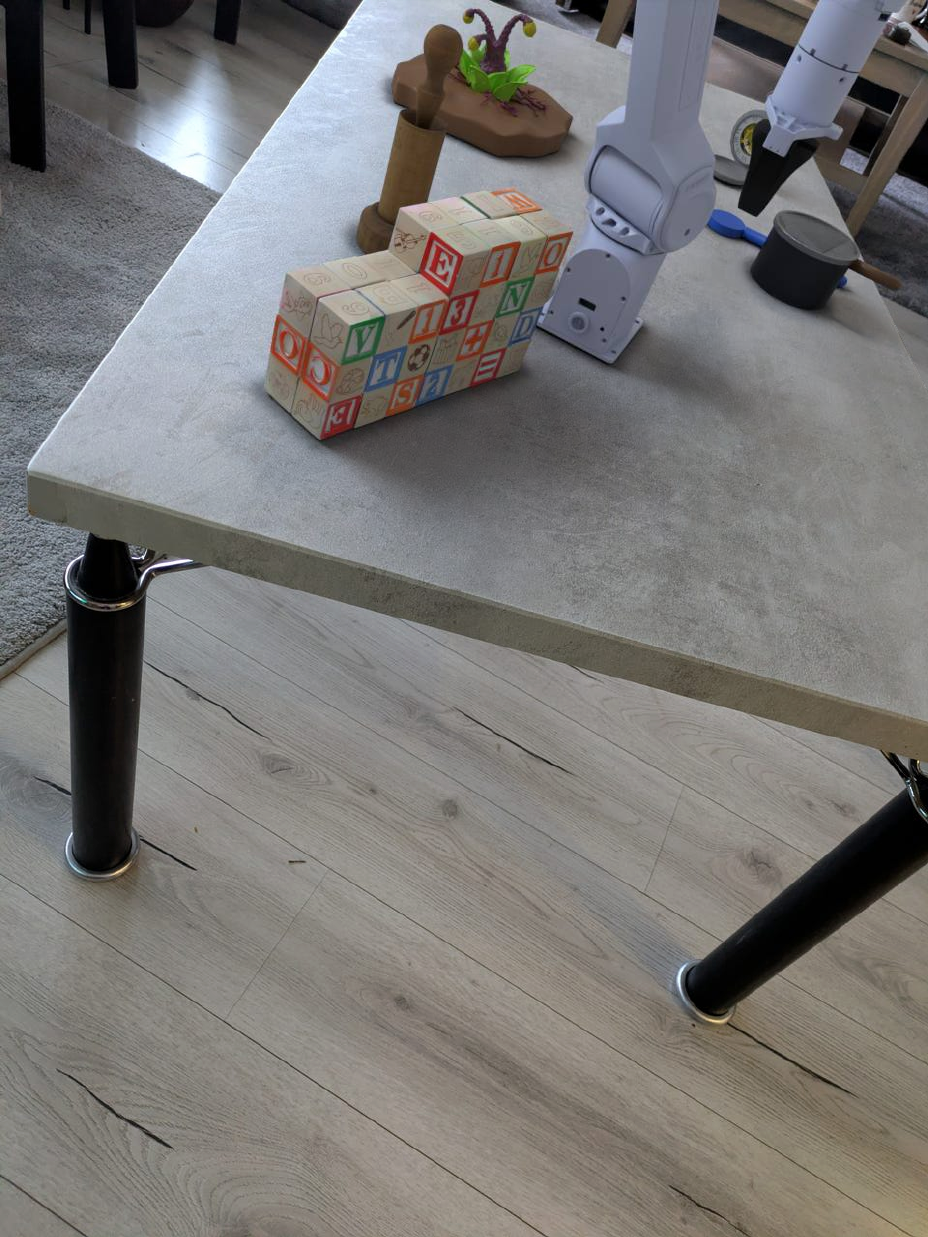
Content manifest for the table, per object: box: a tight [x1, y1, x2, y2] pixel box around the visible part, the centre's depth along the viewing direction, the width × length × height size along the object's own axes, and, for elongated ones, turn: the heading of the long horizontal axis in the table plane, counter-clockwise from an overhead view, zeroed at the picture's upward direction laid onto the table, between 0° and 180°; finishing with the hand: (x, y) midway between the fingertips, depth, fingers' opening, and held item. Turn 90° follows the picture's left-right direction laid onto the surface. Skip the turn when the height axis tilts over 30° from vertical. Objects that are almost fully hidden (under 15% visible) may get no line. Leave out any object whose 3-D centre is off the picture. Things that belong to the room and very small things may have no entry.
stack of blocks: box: [263, 187, 574, 441], centre depth 69 cm, size 21×6×12 cm, turn 136°
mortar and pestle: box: [355, 23, 464, 255], centre depth 80 cm, size 7×6×18 cm
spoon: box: [706, 208, 848, 288], centre depth 111 cm, size 17×4×1 cm, turn 64°
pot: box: [749, 209, 903, 311], centre depth 105 cm, size 10×15×6 cm, turn 65°
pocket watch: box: [713, 90, 774, 186], centre depth 121 cm, size 8×8×10 cm
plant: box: [390, 8, 574, 158], centre depth 110 cm, size 20×20×11 cm
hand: (748, 210), depth 92 cm, fingers closed
